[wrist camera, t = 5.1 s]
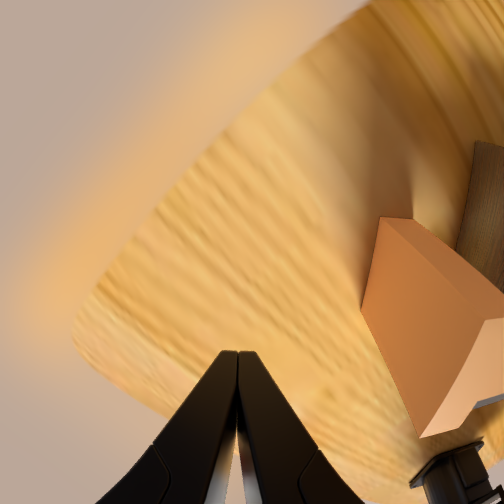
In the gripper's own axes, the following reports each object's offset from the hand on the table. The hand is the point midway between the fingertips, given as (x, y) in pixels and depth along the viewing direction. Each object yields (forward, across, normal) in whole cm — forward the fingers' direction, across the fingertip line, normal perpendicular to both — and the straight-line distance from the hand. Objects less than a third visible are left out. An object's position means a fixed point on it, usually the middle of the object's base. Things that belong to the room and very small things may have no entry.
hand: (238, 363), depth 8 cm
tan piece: (+6, -8, 0) cm, 10 cm away
